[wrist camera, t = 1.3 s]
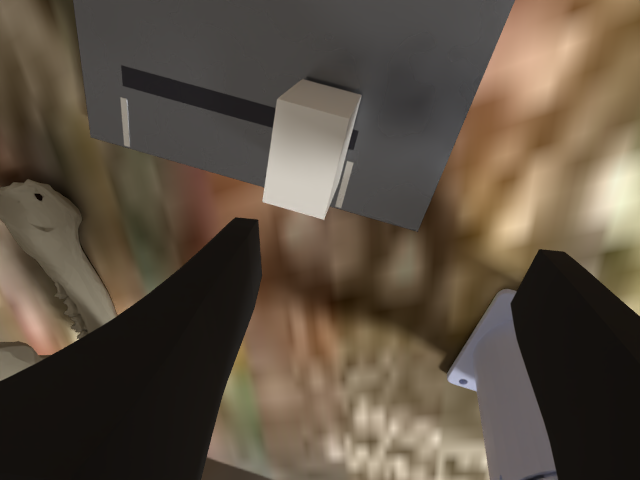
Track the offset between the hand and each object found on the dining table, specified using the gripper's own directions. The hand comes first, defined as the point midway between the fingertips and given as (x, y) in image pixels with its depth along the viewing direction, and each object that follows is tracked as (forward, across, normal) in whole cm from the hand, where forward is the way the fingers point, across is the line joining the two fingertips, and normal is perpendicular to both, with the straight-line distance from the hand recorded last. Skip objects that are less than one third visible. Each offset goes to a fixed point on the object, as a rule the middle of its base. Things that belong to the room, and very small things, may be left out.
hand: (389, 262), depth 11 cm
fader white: (+8, +3, 0) cm, 9 cm away
